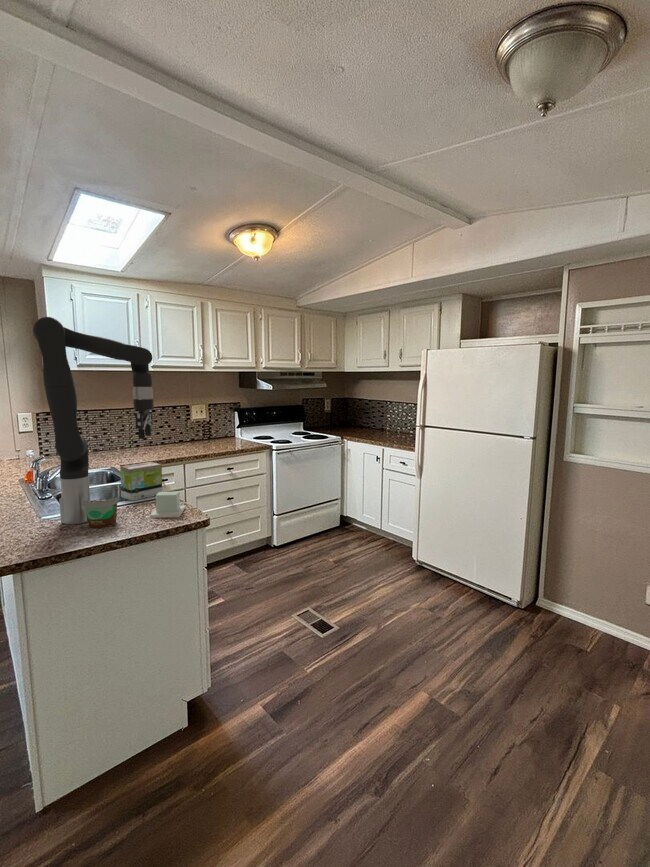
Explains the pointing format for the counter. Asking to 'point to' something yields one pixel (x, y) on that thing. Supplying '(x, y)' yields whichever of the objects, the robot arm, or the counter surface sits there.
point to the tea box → (141, 480)
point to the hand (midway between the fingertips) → (145, 437)
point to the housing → (167, 502)
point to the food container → (101, 512)
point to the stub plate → (167, 513)
